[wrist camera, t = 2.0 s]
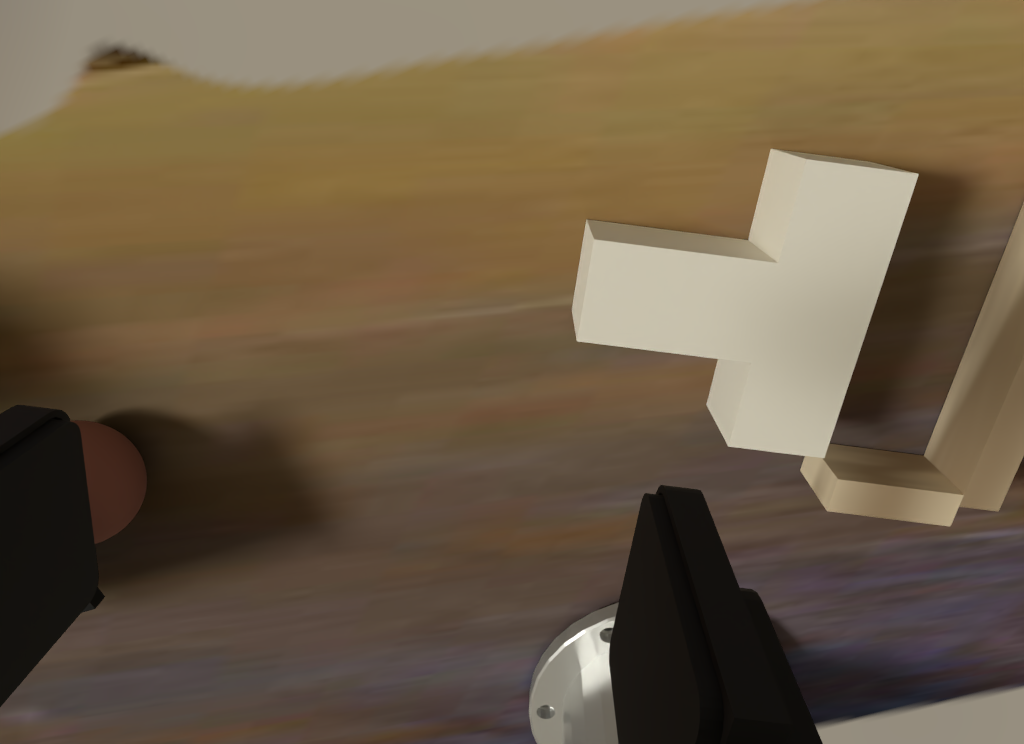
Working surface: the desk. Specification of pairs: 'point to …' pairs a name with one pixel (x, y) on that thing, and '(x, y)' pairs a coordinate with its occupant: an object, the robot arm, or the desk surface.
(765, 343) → the t block
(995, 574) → the desk surface
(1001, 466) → the corner stop
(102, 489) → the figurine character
